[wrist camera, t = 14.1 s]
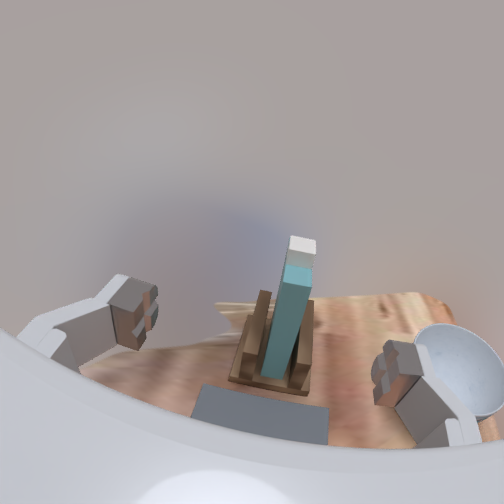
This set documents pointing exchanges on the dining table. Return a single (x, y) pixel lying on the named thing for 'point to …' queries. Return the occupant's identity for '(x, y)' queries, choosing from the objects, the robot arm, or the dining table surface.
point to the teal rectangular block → (289, 306)
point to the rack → (255, 345)
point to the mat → (262, 415)
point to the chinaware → (466, 367)
